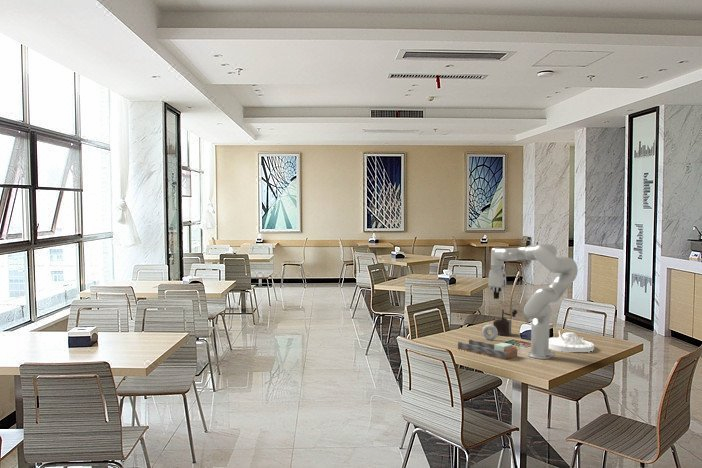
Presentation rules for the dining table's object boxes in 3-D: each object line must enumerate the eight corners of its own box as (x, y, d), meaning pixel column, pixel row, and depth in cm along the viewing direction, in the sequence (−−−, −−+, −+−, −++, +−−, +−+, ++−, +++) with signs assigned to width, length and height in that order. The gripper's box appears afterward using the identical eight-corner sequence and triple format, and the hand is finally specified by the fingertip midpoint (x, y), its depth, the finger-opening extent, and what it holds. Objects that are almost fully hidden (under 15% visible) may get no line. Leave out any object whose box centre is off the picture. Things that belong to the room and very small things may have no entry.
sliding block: (512, 353, 313) (512, 344, 312) (503, 355, 307) (503, 346, 306) (502, 351, 317) (503, 342, 317) (494, 353, 311) (494, 344, 311)
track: (517, 356, 312) (517, 346, 312) (505, 359, 304) (505, 350, 304) (469, 345, 336) (470, 336, 335) (457, 348, 328) (458, 339, 327)
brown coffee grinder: (492, 335, 368) (493, 308, 368) (495, 331, 378) (496, 305, 377) (516, 337, 361) (517, 310, 361) (519, 334, 371) (520, 307, 370)
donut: (481, 339, 354) (481, 323, 354) (482, 338, 357) (482, 322, 357) (496, 341, 349) (497, 325, 349) (498, 340, 353) (498, 324, 352)
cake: (604, 351, 329) (605, 335, 329) (568, 355, 318) (568, 338, 318) (569, 341, 355) (569, 326, 354) (534, 344, 344) (534, 329, 344)
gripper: (511, 269, 331) (510, 299, 332) (489, 266, 342) (488, 296, 343) (504, 269, 326) (504, 300, 327) (483, 267, 337) (482, 297, 337)
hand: (496, 298), depth 335 cm, fingers closed
